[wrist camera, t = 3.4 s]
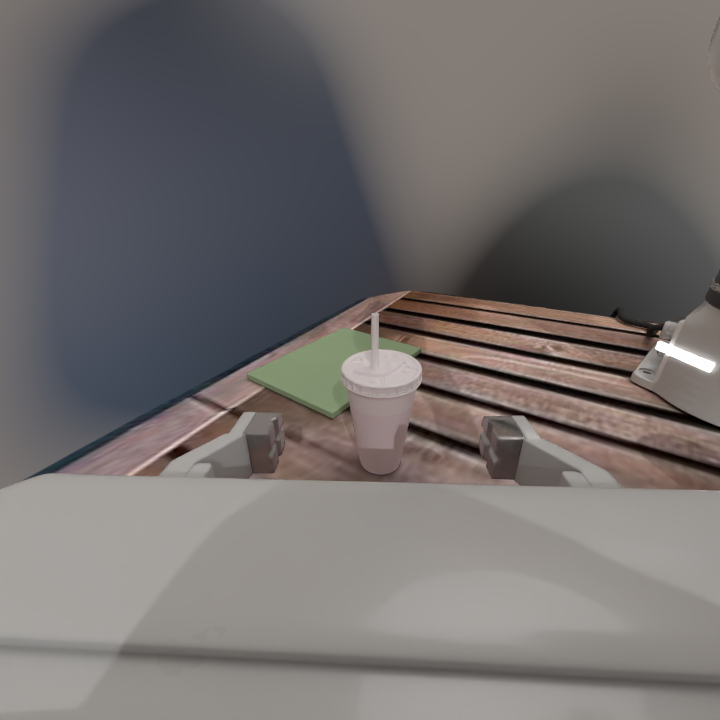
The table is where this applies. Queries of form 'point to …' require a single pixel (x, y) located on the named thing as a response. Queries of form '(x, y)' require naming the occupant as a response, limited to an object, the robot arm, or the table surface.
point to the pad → (321, 370)
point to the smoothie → (380, 401)
